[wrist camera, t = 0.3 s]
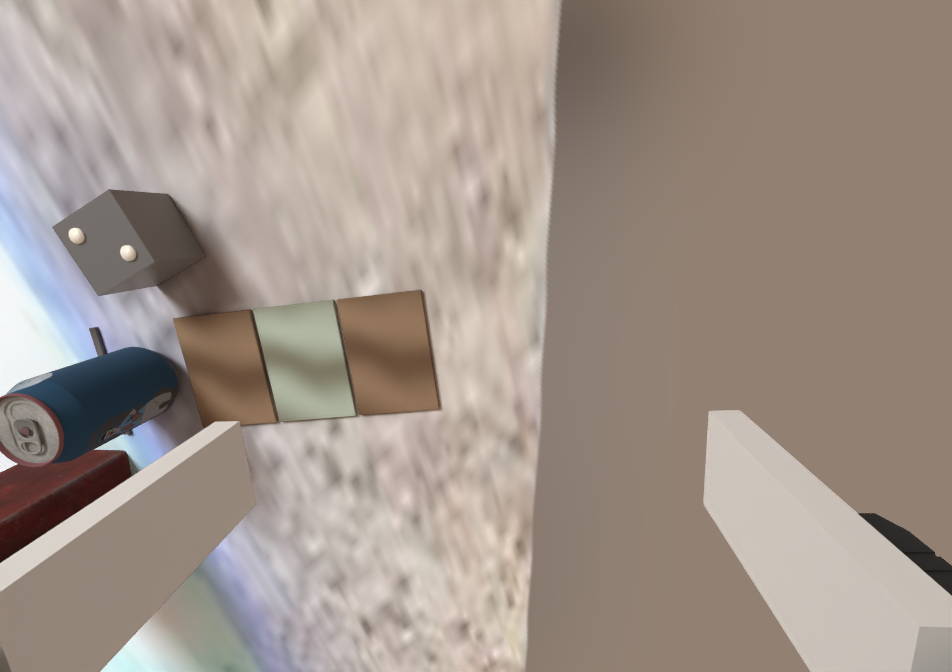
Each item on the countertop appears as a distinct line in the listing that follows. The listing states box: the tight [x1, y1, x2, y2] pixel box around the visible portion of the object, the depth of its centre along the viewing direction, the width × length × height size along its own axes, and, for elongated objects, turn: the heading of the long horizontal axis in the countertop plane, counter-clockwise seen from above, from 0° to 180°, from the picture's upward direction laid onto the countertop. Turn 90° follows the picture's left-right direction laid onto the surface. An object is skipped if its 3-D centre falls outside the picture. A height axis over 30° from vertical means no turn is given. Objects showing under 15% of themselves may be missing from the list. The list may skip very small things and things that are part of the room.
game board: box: [89, 290, 439, 435], centre depth 43 cm, size 11×32×1 cm, turn 97°
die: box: [52, 190, 206, 296], centre depth 38 cm, size 6×6×6 cm
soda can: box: [0, 347, 179, 467], centre depth 39 cm, size 7×7×12 cm
